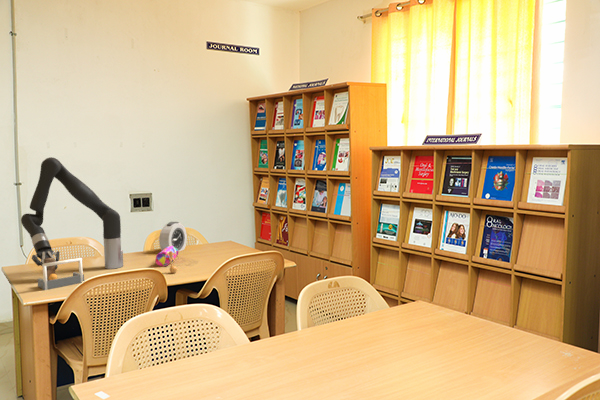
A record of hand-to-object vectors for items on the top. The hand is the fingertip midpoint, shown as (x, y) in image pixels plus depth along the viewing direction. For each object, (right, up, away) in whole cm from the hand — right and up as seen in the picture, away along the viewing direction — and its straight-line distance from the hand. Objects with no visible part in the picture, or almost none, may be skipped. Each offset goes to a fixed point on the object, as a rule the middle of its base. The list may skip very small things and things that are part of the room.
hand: (51, 269), depth 256 cm
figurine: (+59, -4, +15) cm, 61 cm away
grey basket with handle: (+8, -6, -7) cm, 12 cm away
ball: (+1, -4, -1) cm, 4 cm away
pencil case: (+49, -2, +41) cm, 64 cm away
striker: (-1, -4, +2) cm, 5 cm away
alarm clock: (+44, +2, +77) cm, 88 cm away
